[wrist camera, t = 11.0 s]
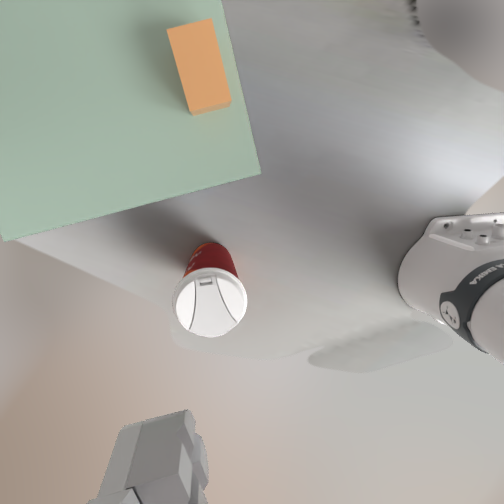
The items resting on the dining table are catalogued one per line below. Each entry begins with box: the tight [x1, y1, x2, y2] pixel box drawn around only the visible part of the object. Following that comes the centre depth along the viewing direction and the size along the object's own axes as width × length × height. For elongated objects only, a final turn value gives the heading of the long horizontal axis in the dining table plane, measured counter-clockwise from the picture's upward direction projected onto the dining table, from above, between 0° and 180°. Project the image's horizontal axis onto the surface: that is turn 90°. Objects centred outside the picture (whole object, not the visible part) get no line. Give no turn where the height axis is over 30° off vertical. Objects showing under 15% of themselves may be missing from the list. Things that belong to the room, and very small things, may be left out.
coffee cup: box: [172, 243, 247, 337], centre depth 43 cm, size 8×8×15 cm
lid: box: [0, 0, 261, 242], centre depth 24 cm, size 23×17×5 cm
